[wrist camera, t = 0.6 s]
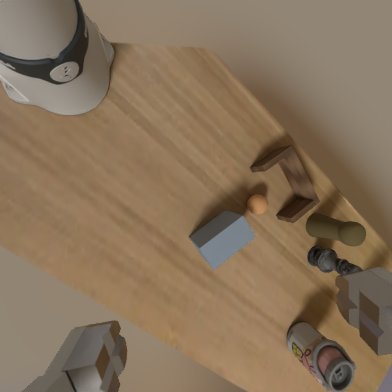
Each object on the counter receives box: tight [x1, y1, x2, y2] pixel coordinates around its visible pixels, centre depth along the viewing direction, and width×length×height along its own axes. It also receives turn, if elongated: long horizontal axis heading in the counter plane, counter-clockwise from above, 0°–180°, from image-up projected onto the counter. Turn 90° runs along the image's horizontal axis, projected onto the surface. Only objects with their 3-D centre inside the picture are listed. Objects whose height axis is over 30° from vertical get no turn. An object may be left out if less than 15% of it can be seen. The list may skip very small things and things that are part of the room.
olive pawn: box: [306, 213, 366, 246], centre depth 47 cm, size 6×6×11 cm
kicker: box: [189, 210, 255, 270], centre depth 42 cm, size 5×10×8 cm, turn 123°
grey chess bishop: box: [308, 246, 362, 275], centre depth 48 cm, size 6×6×12 cm
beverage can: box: [287, 322, 357, 392], centre depth 48 cm, size 9×8×12 cm
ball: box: [247, 194, 268, 215], centre depth 45 cm, size 4×4×4 cm
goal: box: [250, 145, 320, 223], centre depth 46 cm, size 14×8×5 cm, turn 33°
